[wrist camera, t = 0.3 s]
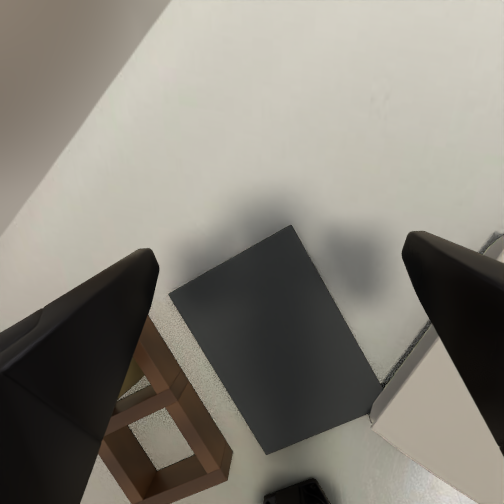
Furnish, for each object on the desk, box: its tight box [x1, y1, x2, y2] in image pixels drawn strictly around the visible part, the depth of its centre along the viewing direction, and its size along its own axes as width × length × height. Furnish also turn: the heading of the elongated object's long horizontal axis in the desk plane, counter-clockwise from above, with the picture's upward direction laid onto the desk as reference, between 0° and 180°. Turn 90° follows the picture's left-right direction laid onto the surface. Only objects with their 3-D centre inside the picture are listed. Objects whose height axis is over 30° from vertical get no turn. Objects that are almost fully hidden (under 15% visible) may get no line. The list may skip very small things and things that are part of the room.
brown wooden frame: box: [98, 316, 233, 504], centre depth 26 cm, size 20×11×3 cm, turn 30°
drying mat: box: [168, 225, 383, 455], centre depth 24 cm, size 20×14×1 cm
